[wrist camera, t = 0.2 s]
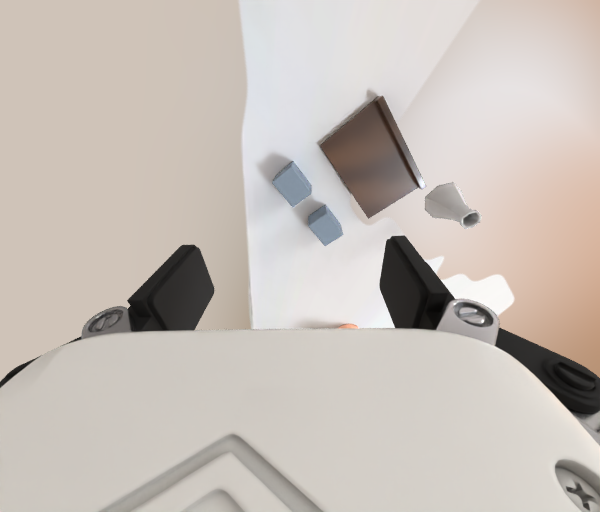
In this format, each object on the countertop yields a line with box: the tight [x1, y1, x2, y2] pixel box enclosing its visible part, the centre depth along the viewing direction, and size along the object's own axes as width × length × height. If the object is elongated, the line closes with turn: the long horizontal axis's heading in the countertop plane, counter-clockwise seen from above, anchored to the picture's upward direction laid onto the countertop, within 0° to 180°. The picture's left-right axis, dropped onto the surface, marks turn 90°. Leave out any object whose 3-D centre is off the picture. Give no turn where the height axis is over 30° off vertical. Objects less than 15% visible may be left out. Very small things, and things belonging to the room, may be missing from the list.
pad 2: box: [308, 205, 343, 246], centre depth 47 cm, size 6×5×5 cm
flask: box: [425, 182, 481, 229], centre depth 42 cm, size 7×7×10 cm
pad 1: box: [272, 162, 311, 207], centre depth 43 cm, size 6×5×5 cm
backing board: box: [320, 96, 426, 218], centre depth 42 cm, size 18×12×2 cm, turn 38°
